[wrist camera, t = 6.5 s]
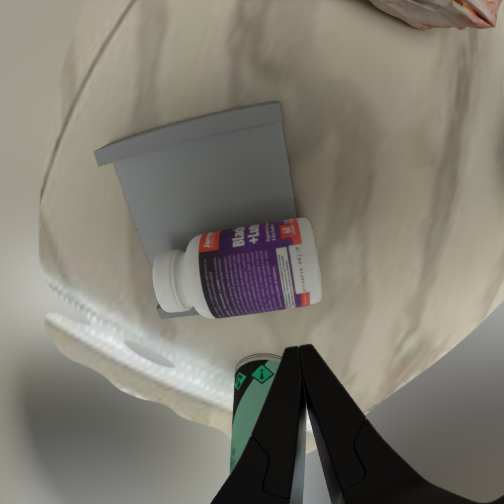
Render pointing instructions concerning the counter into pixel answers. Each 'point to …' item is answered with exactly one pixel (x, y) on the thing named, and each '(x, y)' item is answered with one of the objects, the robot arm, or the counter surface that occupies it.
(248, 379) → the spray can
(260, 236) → the pill bottle
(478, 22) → the food item
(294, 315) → the counter surface
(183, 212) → the tray
